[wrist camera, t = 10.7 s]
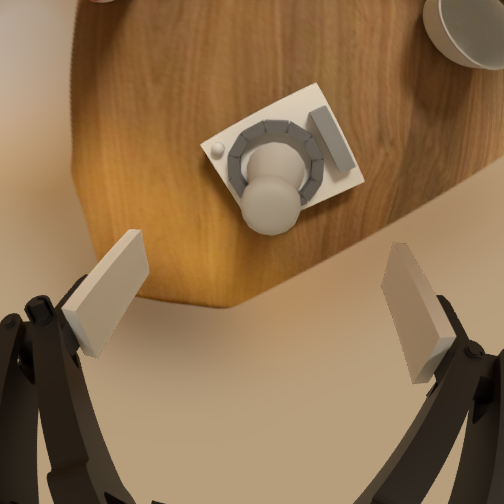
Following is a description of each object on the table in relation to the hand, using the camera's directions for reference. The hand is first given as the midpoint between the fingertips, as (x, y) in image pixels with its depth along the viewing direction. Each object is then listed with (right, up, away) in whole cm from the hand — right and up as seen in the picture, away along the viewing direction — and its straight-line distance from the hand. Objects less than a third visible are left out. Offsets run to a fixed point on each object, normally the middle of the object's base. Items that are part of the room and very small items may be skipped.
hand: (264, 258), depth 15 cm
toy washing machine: (+3, +12, +19) cm, 22 cm away
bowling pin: (+2, +10, +16) cm, 19 cm away
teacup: (+23, +29, +6) cm, 38 cm away
